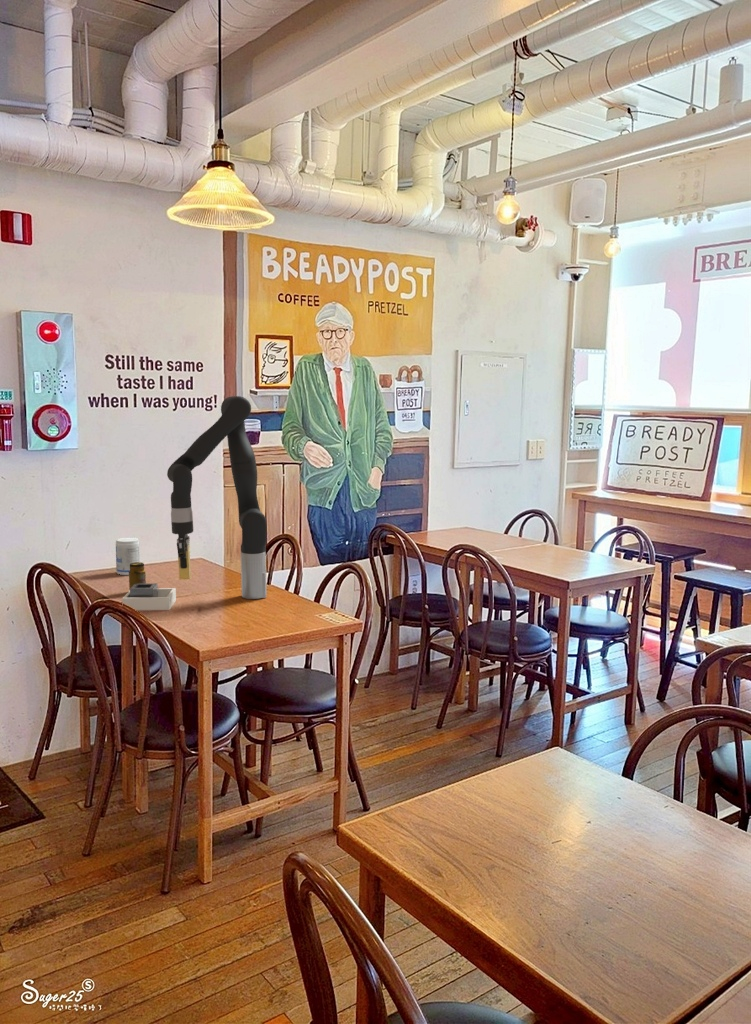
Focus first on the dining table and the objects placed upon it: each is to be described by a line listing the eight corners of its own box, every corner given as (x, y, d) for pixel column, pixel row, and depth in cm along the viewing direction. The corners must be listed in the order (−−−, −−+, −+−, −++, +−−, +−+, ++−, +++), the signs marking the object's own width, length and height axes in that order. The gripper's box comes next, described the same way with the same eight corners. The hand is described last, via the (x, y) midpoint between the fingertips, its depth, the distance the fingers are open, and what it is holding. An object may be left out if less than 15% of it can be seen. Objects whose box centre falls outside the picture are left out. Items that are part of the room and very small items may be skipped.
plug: (191, 576, 295) (189, 544, 293) (189, 579, 291) (187, 546, 289) (180, 577, 294) (179, 544, 293) (179, 579, 291) (177, 546, 289)
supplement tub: (112, 573, 344) (110, 539, 342) (131, 569, 351) (130, 536, 349) (125, 576, 338) (124, 542, 336) (144, 573, 345) (143, 539, 343)
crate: (176, 601, 299) (175, 588, 298) (169, 611, 285) (168, 597, 284) (131, 601, 298) (131, 588, 297) (123, 612, 284) (122, 598, 283)
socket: (158, 602, 296) (157, 583, 294) (153, 607, 288) (152, 588, 287) (135, 602, 295) (134, 583, 294) (130, 608, 287) (129, 588, 286)
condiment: (142, 591, 314) (141, 560, 312) (152, 595, 308) (151, 564, 306) (124, 594, 310) (123, 563, 308) (133, 598, 303) (132, 567, 301)
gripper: (189, 522, 283) (192, 571, 286) (195, 516, 297) (197, 562, 299) (167, 523, 282) (170, 571, 285) (174, 516, 296) (177, 563, 299)
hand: (184, 566), depth 292 cm, fingers closed on plug, 3 cm apart
